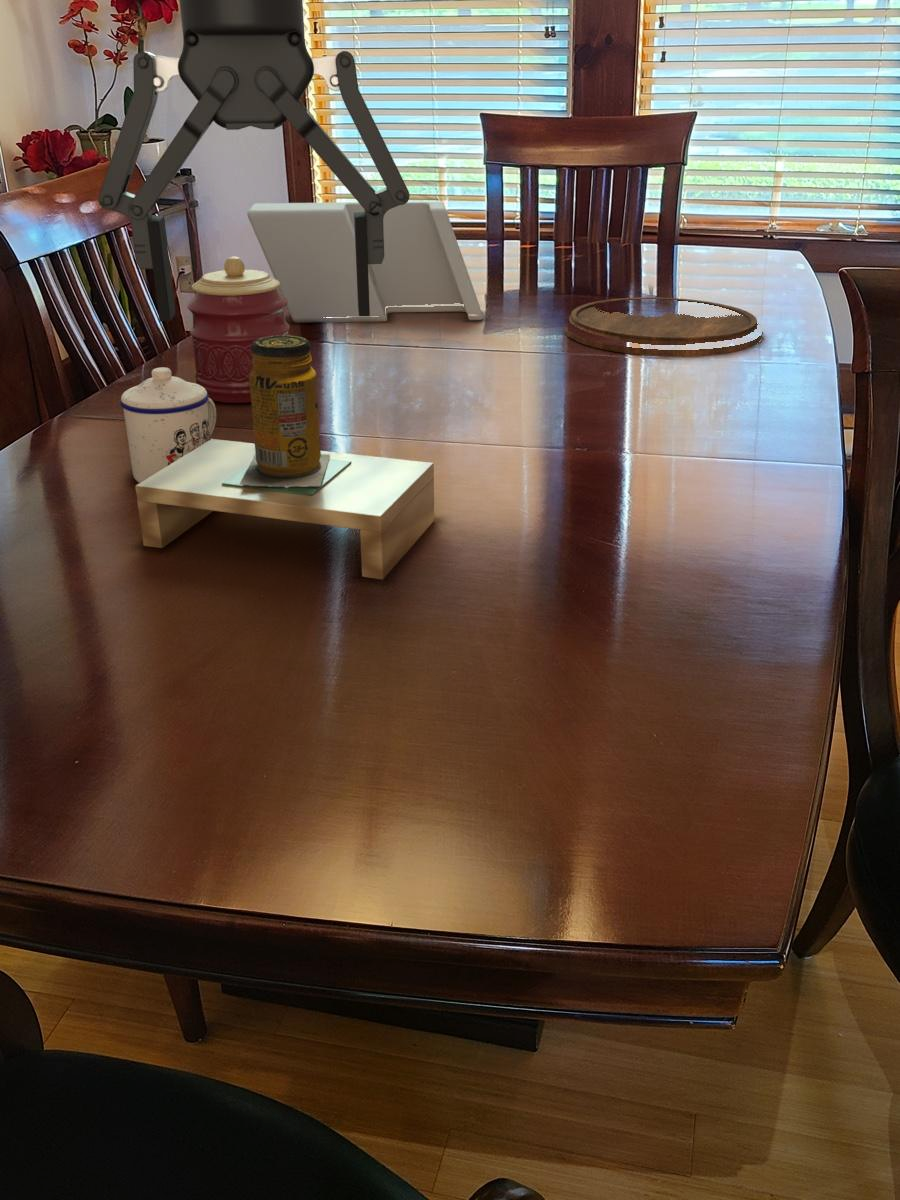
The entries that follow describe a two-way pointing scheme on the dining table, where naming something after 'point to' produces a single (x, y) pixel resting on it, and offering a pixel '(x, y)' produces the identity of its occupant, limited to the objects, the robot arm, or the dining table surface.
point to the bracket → (406, 276)
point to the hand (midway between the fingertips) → (266, 315)
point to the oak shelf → (295, 499)
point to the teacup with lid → (165, 421)
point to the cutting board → (662, 329)
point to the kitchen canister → (233, 327)
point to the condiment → (284, 415)
